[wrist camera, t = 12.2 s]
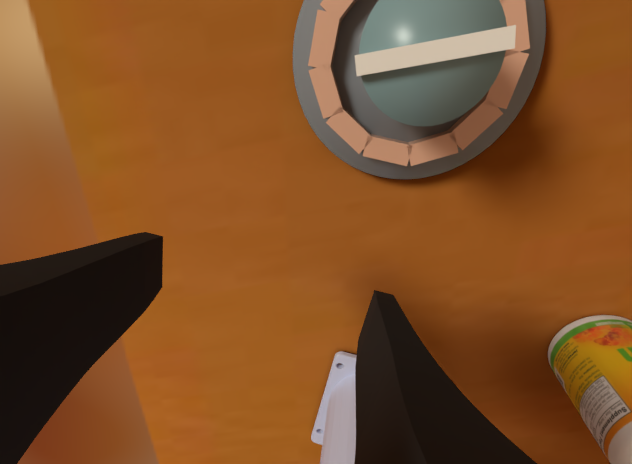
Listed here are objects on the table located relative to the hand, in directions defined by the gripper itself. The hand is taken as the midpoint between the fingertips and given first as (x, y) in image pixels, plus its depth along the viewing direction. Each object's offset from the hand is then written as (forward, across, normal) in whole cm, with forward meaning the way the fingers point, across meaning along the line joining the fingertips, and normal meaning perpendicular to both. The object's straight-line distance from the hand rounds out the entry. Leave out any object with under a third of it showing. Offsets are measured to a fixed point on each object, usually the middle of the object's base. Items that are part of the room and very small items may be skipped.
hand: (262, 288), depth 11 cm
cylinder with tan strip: (+9, -3, -8) cm, 12 cm away
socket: (+9, -3, -8) cm, 13 cm away
